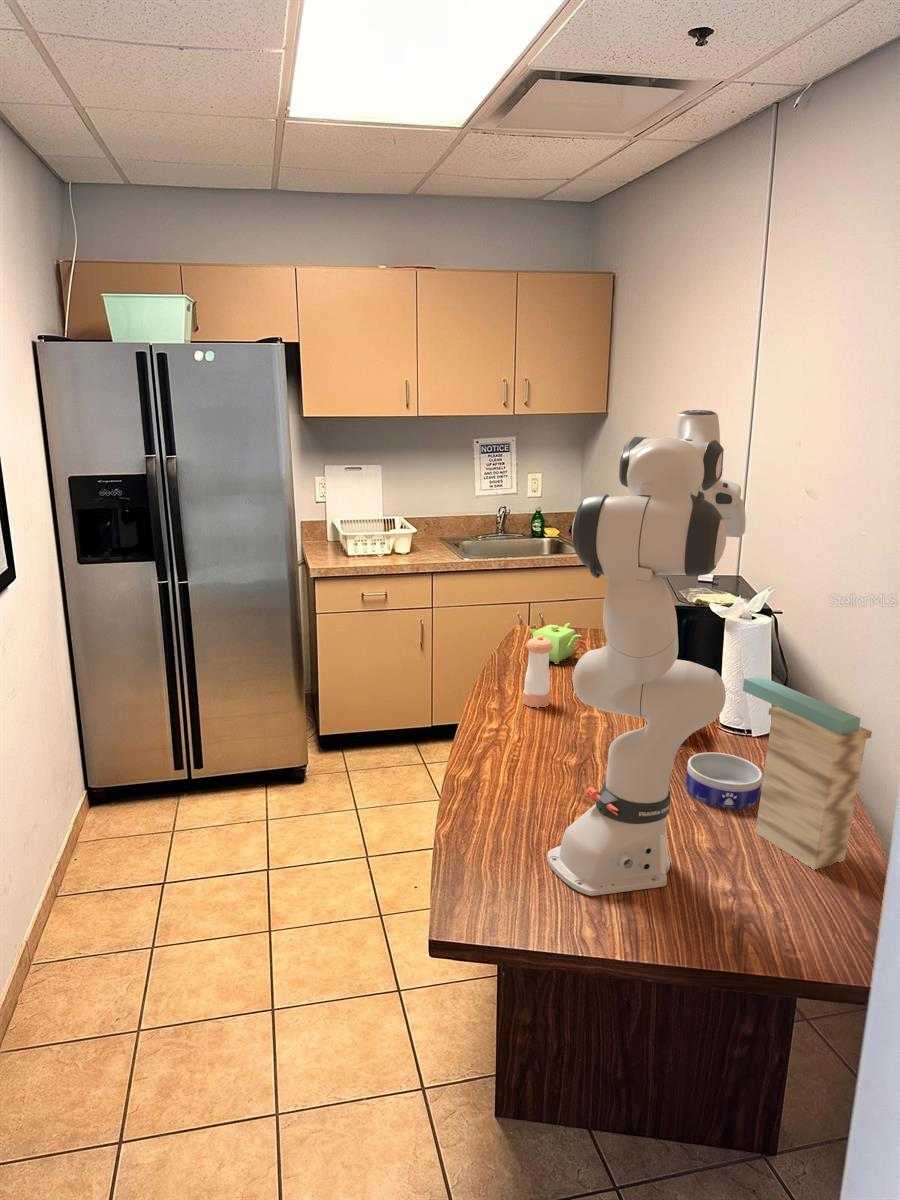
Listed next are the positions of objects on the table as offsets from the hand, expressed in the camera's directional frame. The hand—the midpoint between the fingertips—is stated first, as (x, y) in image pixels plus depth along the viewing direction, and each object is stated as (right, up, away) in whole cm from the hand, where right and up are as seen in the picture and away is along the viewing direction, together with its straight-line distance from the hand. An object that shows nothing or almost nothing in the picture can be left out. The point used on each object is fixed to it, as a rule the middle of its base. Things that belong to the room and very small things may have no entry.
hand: (691, 552), depth 170 cm
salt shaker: (-27, -38, +53) cm, 70 cm away
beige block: (+16, -57, -14) cm, 61 cm away
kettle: (-17, -29, +90) cm, 96 cm away
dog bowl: (+8, -52, +7) cm, 53 cm away
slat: (+15, -31, -16) cm, 38 cm away
